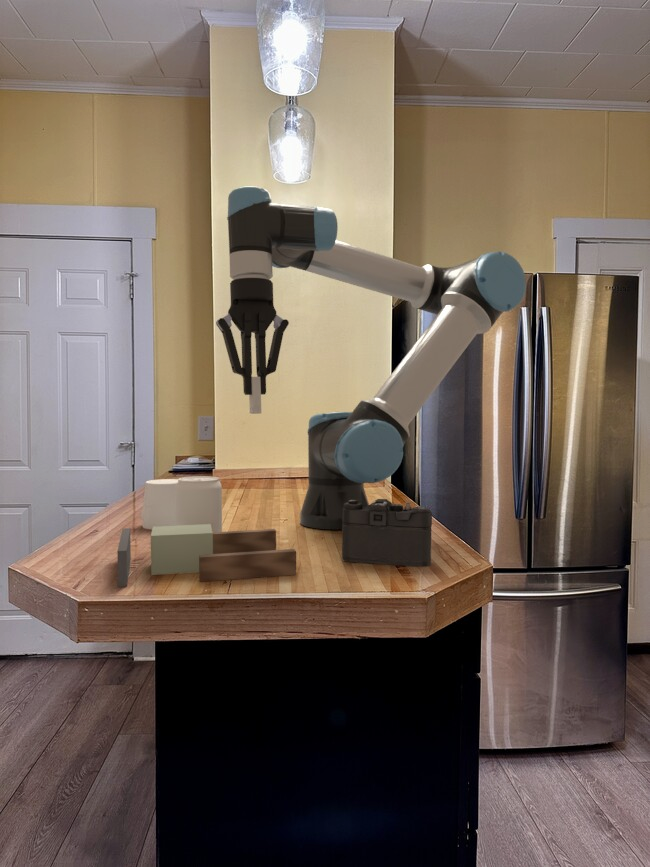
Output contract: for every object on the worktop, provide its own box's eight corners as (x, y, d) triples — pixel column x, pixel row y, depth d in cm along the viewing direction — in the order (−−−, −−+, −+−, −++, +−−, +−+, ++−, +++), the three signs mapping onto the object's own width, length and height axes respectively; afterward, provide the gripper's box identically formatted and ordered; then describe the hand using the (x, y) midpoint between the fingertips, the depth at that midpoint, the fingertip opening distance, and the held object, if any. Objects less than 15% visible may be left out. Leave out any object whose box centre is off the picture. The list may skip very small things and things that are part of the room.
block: (211, 560, 101) (210, 524, 101) (213, 572, 94) (212, 533, 94) (153, 564, 99) (152, 526, 99) (151, 576, 92) (150, 535, 92)
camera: (433, 552, 107) (434, 494, 106) (430, 569, 96) (431, 504, 96) (351, 548, 110) (351, 492, 109) (339, 563, 99) (339, 501, 99)
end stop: (130, 558, 102) (130, 528, 101) (127, 586, 86) (126, 550, 86) (122, 559, 101) (122, 528, 101) (118, 586, 86) (117, 551, 86)
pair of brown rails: (274, 548, 109) (274, 528, 108) (296, 574, 92) (296, 551, 92) (192, 554, 105) (192, 533, 105) (200, 581, 89) (199, 557, 88)
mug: (135, 483, 125) (149, 478, 133) (136, 530, 125) (149, 522, 133) (195, 484, 124) (205, 479, 132) (195, 530, 124) (205, 523, 132)
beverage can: (212, 551, 107) (211, 482, 106) (167, 549, 108) (167, 480, 108) (228, 541, 114) (228, 476, 114) (187, 539, 116) (186, 475, 115)
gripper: (281, 285, 116) (284, 412, 117) (211, 282, 112) (215, 414, 113) (292, 277, 109) (296, 412, 110) (218, 274, 105) (223, 415, 106)
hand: (255, 413), depth 112 cm, fingers closed
